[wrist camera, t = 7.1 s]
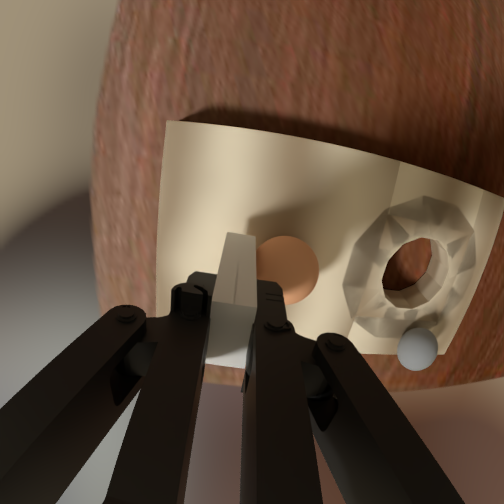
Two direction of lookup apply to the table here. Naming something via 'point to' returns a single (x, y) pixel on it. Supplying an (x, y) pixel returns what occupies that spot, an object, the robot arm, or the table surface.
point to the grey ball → (417, 349)
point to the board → (325, 227)
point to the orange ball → (288, 266)
